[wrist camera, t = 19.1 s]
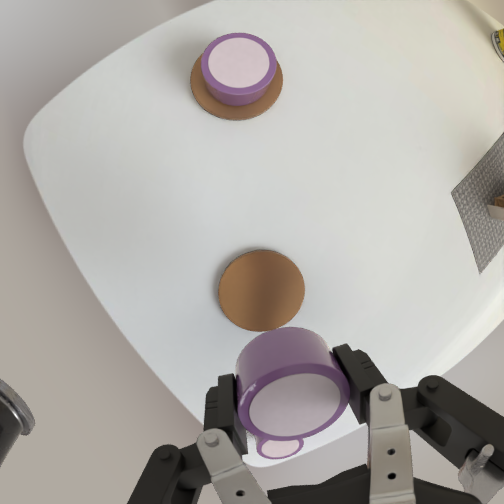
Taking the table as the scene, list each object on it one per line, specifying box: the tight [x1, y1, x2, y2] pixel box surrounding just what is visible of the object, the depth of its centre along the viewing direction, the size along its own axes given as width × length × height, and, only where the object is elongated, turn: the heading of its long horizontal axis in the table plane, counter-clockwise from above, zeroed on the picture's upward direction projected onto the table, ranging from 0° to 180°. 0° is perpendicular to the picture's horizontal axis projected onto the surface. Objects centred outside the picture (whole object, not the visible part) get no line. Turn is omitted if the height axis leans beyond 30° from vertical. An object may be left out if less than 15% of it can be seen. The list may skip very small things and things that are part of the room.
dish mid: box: [235, 327, 350, 441], centre depth 12 cm, size 5×5×3 cm
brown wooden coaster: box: [218, 250, 305, 332], centre depth 23 cm, size 7×7×1 cm
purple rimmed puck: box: [255, 436, 304, 459], centre depth 26 cm, size 5×5×3 cm
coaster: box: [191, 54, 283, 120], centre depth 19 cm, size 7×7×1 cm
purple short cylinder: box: [201, 33, 277, 106], centre depth 17 cm, size 5×5×3 cm
